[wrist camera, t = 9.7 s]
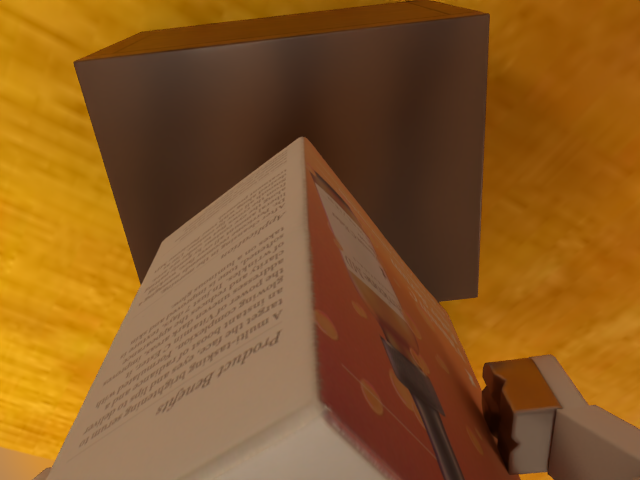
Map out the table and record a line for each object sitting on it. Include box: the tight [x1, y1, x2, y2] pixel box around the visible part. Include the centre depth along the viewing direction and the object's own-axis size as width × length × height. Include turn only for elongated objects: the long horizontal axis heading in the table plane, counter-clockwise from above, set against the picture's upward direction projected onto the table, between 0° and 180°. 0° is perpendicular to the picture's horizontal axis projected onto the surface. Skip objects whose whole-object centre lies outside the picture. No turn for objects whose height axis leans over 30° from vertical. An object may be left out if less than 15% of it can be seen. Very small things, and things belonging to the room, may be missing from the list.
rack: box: [74, 0, 490, 303], centre depth 31 cm, size 16×27×10 cm, turn 6°
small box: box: [46, 137, 520, 480], centre depth 12 cm, size 8×6×10 cm
